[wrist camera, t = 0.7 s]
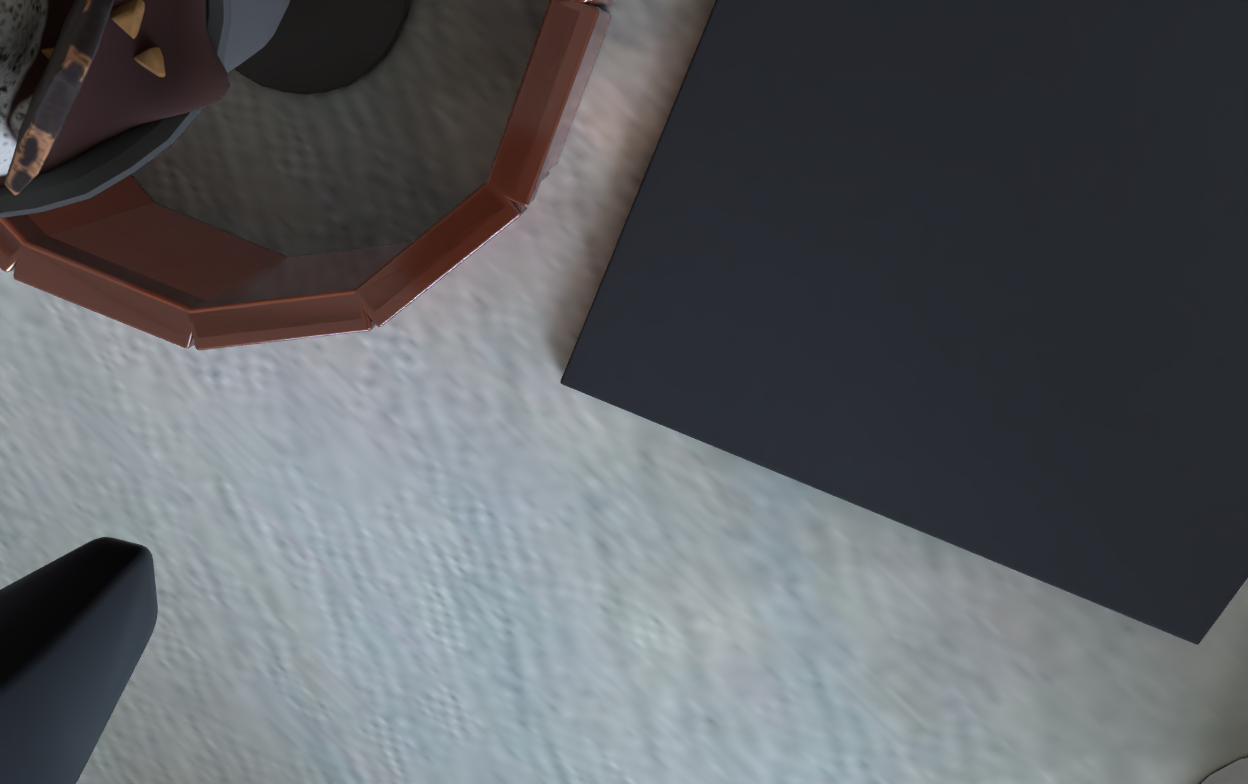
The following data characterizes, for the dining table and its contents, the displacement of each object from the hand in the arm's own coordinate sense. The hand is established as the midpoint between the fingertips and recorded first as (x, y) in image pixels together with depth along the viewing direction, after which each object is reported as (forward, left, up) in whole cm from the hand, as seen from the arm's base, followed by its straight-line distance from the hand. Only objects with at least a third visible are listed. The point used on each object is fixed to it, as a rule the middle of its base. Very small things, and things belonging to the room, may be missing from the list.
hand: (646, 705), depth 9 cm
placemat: (+7, -6, -14) cm, 17 cm away
